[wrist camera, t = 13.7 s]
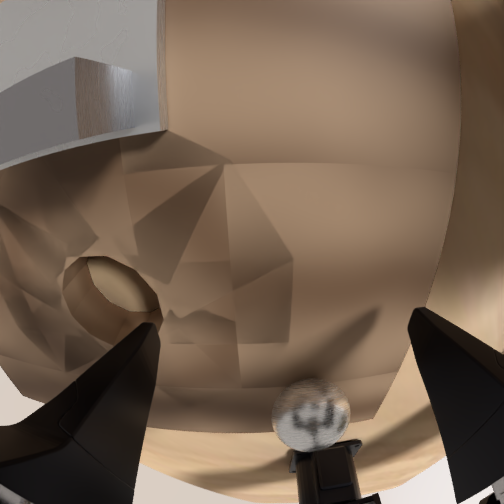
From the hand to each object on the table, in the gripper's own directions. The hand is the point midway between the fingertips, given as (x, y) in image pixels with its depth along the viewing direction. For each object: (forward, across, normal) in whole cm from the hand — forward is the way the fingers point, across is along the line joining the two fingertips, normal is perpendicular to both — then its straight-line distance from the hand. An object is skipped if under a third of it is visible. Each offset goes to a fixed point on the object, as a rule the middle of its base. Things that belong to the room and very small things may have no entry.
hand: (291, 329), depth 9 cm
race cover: (+1, +7, -10) cm, 12 cm away
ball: (0, -1, +5) cm, 5 cm away
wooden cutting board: (+4, +7, -1) cm, 8 cm away
